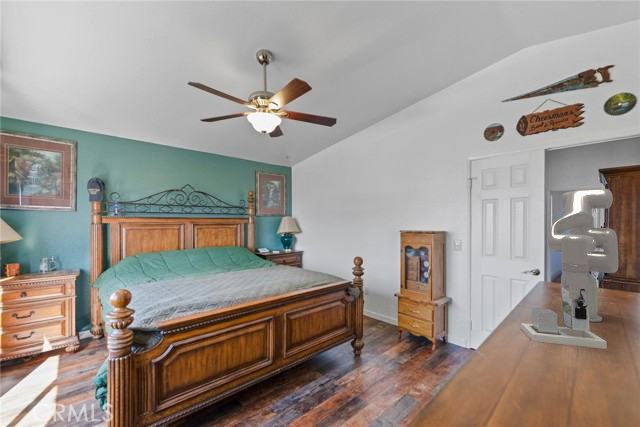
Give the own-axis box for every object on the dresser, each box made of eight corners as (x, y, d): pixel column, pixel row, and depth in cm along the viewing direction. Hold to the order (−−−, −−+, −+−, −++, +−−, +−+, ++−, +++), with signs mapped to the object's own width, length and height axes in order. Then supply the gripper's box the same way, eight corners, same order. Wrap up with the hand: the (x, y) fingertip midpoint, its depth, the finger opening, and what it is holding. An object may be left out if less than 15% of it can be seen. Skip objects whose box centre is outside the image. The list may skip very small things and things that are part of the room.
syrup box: (590, 331, 104) (589, 291, 104) (571, 330, 105) (570, 290, 105) (579, 325, 109) (578, 287, 110) (562, 324, 111) (561, 287, 111)
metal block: (532, 332, 114) (532, 307, 114) (550, 334, 112) (549, 309, 112) (538, 338, 108) (538, 312, 108) (557, 340, 106) (557, 313, 107)
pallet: (521, 331, 118) (520, 323, 118) (586, 338, 111) (586, 329, 111) (532, 343, 106) (532, 334, 106) (606, 351, 100) (606, 341, 100)
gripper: (552, 264, 117) (553, 308, 117) (574, 271, 101) (576, 322, 100) (574, 265, 115) (575, 310, 114) (601, 273, 98) (602, 325, 98)
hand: (575, 315), depth 107 cm, fingers closed on syrup box, 6 cm apart
